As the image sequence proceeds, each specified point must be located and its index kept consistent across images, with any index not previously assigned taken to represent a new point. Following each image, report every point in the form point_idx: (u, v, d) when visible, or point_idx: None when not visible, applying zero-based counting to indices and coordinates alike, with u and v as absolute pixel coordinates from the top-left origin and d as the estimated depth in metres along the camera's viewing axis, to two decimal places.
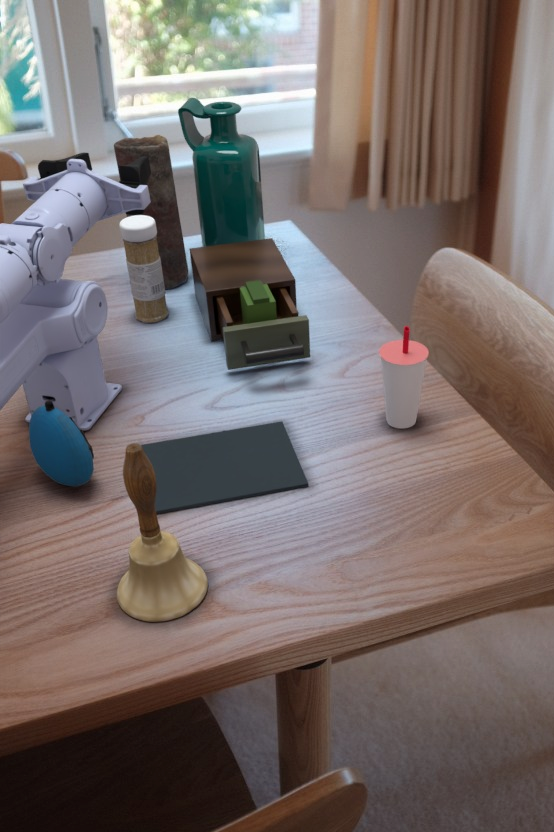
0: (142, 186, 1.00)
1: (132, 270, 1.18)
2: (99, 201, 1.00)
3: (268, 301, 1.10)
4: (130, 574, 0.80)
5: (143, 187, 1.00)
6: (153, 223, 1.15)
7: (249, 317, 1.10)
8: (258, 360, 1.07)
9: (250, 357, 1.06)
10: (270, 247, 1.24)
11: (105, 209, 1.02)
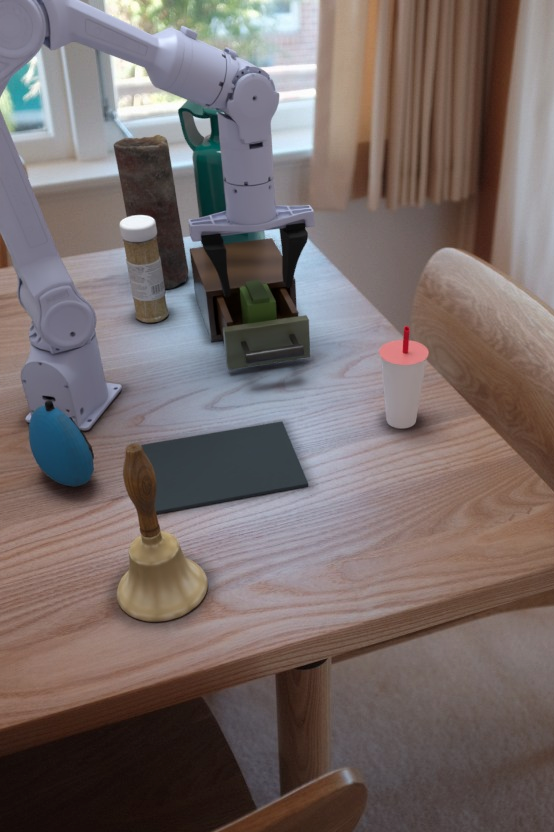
0: None
1: (132, 270, 1.18)
2: None
3: (268, 301, 1.10)
4: (130, 574, 0.80)
5: None
6: (153, 223, 1.15)
7: (249, 317, 1.10)
8: (258, 360, 1.07)
9: (250, 357, 1.06)
10: (270, 247, 1.24)
11: (275, 214, 1.04)
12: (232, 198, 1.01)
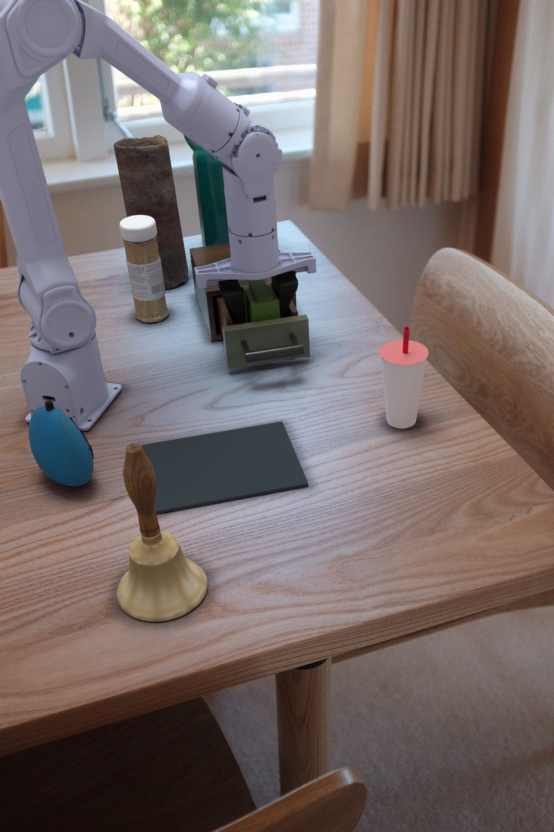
0: None
1: (132, 270, 1.18)
2: None
3: (271, 300, 1.10)
4: (130, 574, 0.80)
5: None
6: (153, 223, 1.15)
7: (252, 316, 1.10)
8: (258, 359, 1.07)
9: (250, 356, 1.06)
10: None
11: (278, 262, 1.08)
12: (236, 248, 1.05)
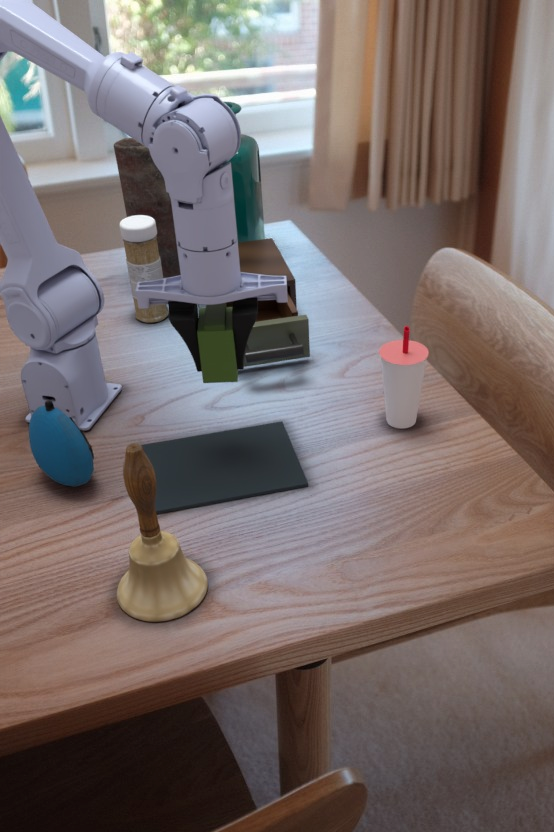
0: None
1: (132, 270, 1.18)
2: None
3: (223, 329, 0.88)
4: (130, 574, 0.80)
5: None
6: (153, 223, 1.15)
7: (199, 346, 0.90)
8: (258, 359, 1.07)
9: (250, 356, 1.06)
10: (270, 247, 1.24)
11: (238, 285, 0.87)
12: (182, 263, 0.85)
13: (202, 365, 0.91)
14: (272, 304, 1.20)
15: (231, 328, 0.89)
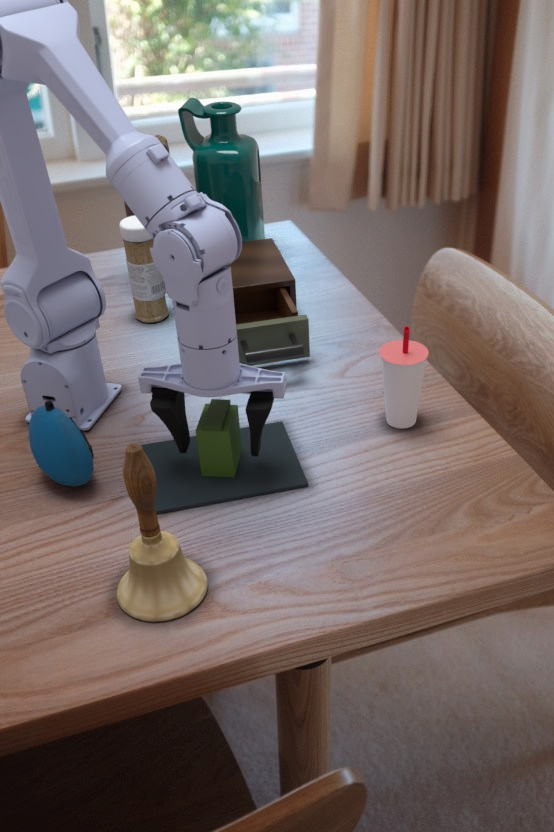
0: None
1: (132, 270, 1.18)
2: None
3: (220, 430, 0.92)
4: (130, 574, 0.80)
5: None
6: None
7: (198, 443, 0.93)
8: (258, 359, 1.07)
9: (250, 356, 1.06)
10: (270, 247, 1.24)
11: (235, 379, 0.89)
12: (181, 357, 0.87)
13: (200, 460, 0.94)
14: (272, 304, 1.20)
15: (228, 429, 0.92)
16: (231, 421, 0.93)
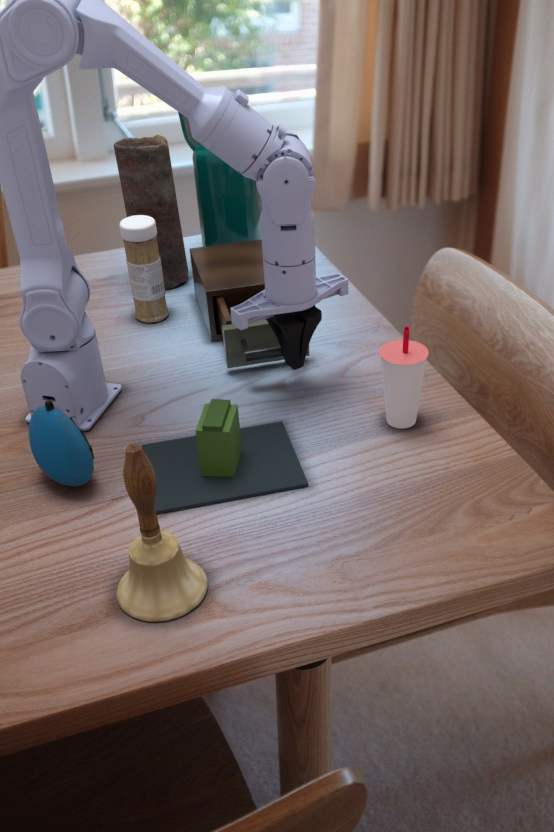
0: None
1: (132, 270, 1.18)
2: None
3: (220, 430, 0.92)
4: (130, 574, 0.80)
5: None
6: (153, 223, 1.15)
7: (198, 443, 0.93)
8: (257, 358, 1.07)
9: (249, 355, 1.06)
10: None
11: None
12: (279, 280, 0.97)
13: (200, 460, 0.94)
14: None
15: (228, 429, 0.92)
16: (231, 421, 0.93)
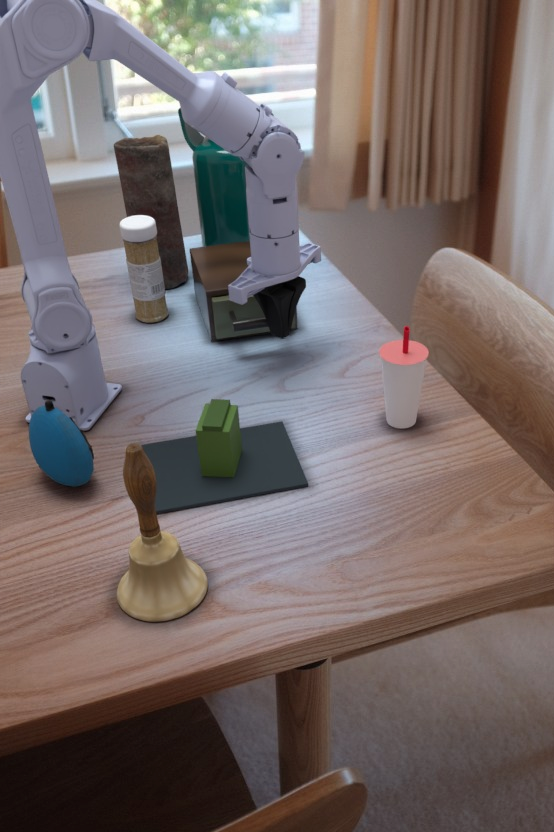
0: None
1: (132, 270, 1.18)
2: None
3: (220, 430, 0.92)
4: (130, 574, 0.80)
5: None
6: (153, 223, 1.15)
7: (198, 443, 0.93)
8: (245, 328, 1.12)
9: (237, 325, 1.12)
10: None
11: None
12: (272, 252, 1.03)
13: (200, 460, 0.94)
14: None
15: (228, 429, 0.92)
16: (231, 421, 0.93)
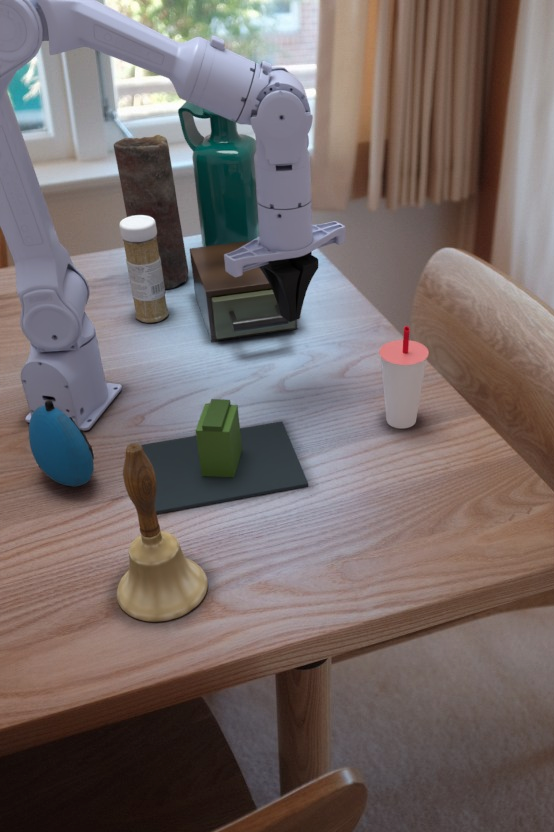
0: None
1: (132, 270, 1.18)
2: None
3: (220, 430, 0.92)
4: (130, 574, 0.80)
5: None
6: (153, 223, 1.15)
7: (198, 443, 0.93)
8: (245, 328, 1.12)
9: (237, 325, 1.12)
10: None
11: None
12: (275, 224, 0.94)
13: (200, 460, 0.94)
14: None
15: (228, 429, 0.92)
16: (231, 421, 0.93)
